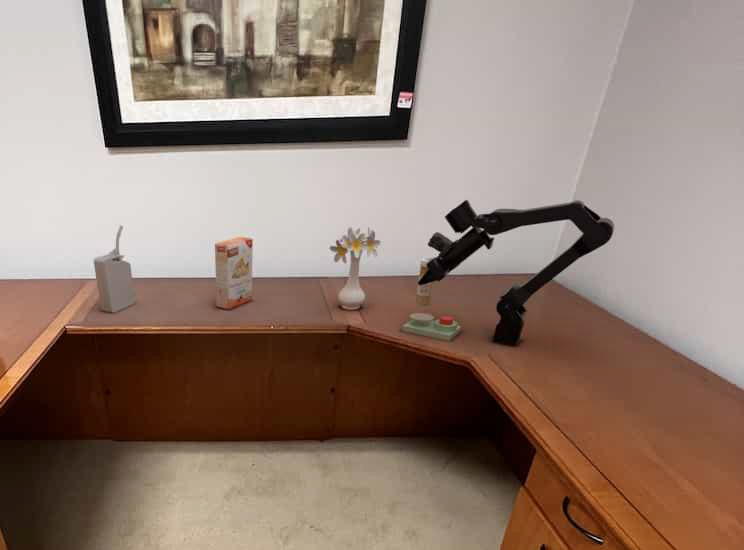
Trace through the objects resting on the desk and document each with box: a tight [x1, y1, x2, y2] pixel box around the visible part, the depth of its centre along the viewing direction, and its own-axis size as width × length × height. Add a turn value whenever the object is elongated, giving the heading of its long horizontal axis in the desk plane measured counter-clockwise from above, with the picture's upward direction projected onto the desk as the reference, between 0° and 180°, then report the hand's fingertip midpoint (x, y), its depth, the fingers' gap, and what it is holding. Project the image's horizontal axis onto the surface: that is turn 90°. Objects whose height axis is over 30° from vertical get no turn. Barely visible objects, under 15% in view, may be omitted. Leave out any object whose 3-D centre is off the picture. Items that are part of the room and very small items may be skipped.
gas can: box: [93, 224, 136, 314], centre depth 190 cm, size 15×5×25 cm, turn 150°
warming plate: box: [409, 312, 434, 322], centre depth 173 cm, size 7×7×1 cm
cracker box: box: [214, 236, 254, 310], centre depth 192 cm, size 14×6×21 cm, turn 143°
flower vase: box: [329, 226, 381, 311], centre depth 185 cm, size 13×18×25 cm
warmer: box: [401, 318, 462, 342], centre depth 172 cm, size 15×10×4 cm, turn 53°
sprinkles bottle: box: [414, 257, 434, 308], centre depth 169 cm, size 5×5×13 cm
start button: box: [440, 315, 454, 325], centre depth 169 cm, size 4×4×2 cm
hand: (421, 282), depth 170 cm, fingers closed on sprinkles bottle, 4 cm apart
